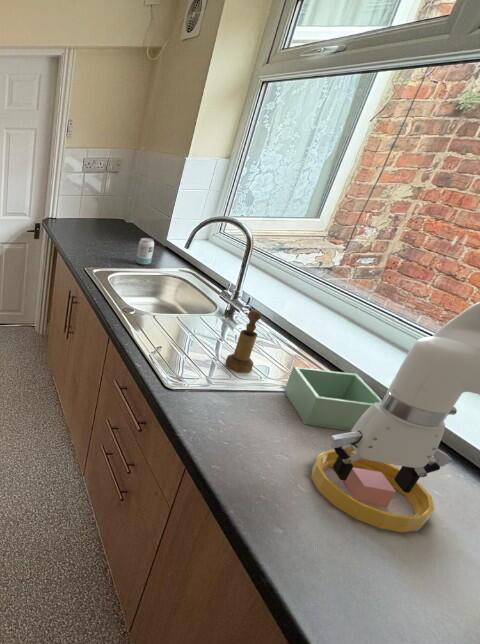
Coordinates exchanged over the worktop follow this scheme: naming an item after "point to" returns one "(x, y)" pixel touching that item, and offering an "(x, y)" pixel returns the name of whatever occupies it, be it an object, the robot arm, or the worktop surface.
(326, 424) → the bin
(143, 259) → the beverage can
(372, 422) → the robot arm
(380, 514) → the yellow bangle
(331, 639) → the worktop surface
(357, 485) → the pink toy cube
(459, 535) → the worktop surface
